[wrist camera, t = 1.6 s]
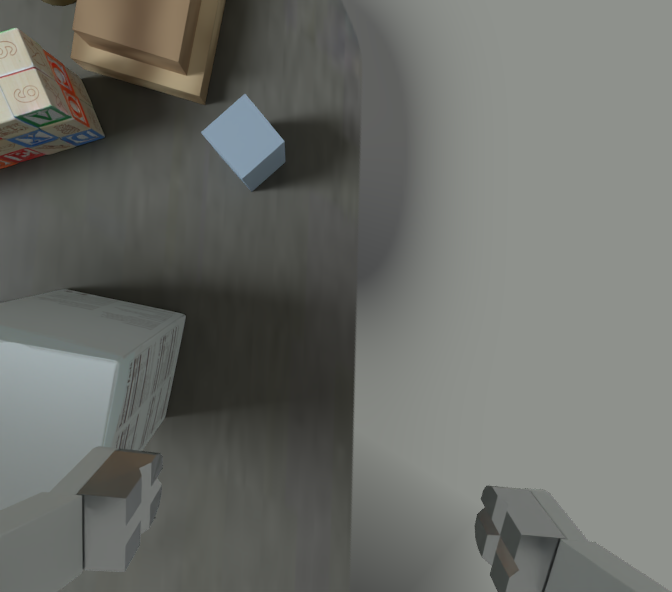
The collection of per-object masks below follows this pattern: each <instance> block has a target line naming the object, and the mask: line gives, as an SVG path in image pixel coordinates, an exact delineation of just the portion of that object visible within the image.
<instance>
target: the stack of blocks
mask: <svg viewBox="0 0 672 592" xmlns="http://www.w3.org/2000/svg"><path fill="white" fill-rule="evenodd" d="M104 137H105V135H104V133H103V131H102V128H101V126H100V123H99V121H98V119H97V116H96V114H95V111H94V109H93V106H92V103H91V101H90V98H89V96H88V94H87V91H86V89H85V87H84V84H83V82H82V80H81V79H80V78H79V77H78V76H77V75H76V74H75V73H73V72H72V71H70V70H69V69H68V68H66V67H65V66H64V65H63V64H62V63H61V62H59V61H58V60H57V59H55V58H54V57H53V56H52V55H50V54H49V53H47V52H46V51H45V50H43V49H42V47H41V46H40V45H39V44H37V43H36V42H35V41H33V40H32V39H31V38H30V37H28V36H27V35H26V34H25V33H23V32H22V31H21V30H19V29H18V28H12V29H9V30H6V31H3V32H0V169H2V168H5V167H9V166H12V165H15V164H18V163H19V162H23V161H27V160H30V159H33V158H36V157H40V156H43V155H46V154H47V155H50V154H54V153H57V152H60V151H64V150H67V149H70V148H73V147H76V146H78V145H83V144H86V143H89V142H92V141H96V140H99V139H102V138H104Z"/></svg>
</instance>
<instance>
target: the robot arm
mask: <svg viewBox="0 0 672 592" xmlns="http://www.w3.org/2000/svg"><path fill="white" fill-rule="evenodd" d="M162 469H163V456H162V455H161V454H160V453H154V452H146V451H138V450H130V449H121V448H120V449H118V448H111V447H102V446H98V447H95V448H93V449H92V450H91V451H90V452H89V453H88V454H87V455H86V456H85V457H84V458H83V459H82V460H81V461H80V462H79V463H78V464H77V465H76V466H75V467H74V468H73V469H72V470H71V471H70V472H69V473H68V474H67V475H66V476H65V477H64V478H63V479H62V480H61V481H60V482H59V483H58V484H57V485H56V486H55V487H54V488H53V489H52V490H51V491H50V492H41V493H38V494H36V495H34V496H32V497H29V498H27V499H25V500H23V501H20V502H18V503H16V504H14V505H11V506H9V507H7V508H5V509H2V510H0V592H58V591H59V590H61V589H62V588H63V587H65V586H66V585H67V584H68V583H70V582H71V581H72V580H74V579H75V578H76V577H77V576H79V575H80V574H81V573H82V572H83V570H96V571H116V572H125V571H126V569H127V567H128V565H129V563H130V562H131V560H132V558H133V556H134V555H135V553H136V551H137V549H138V548H139V546H140V534H141V533H143V532H144V531H146V530H147V529H149V528H150V526H151V524H152V522H153V520H154V518H155V516H156V513H157V510H158V507H159V504H160V499H161V492H162V484H161V483H160V481H159V480H158V478H157V477H158V475H159V474H160V472H161V470H162ZM481 500H482V502H483V504H484V506H485V508H484V509H482V510H481V511H480V512H479V513H478V514H477V518H476V523H475V538H476V542H477V546H478V549H479V551H480V554H481V556H482V558H483V559H485V560H486V561H487V562H488V563H489V564H490V565H491V566H492V568H491V572H490V576H491V578H492V580H493V582H494V585H495V587H496V589H497V591H498V592H671V591H669V590H668V589H666V588H664V587H663V586H662V585H660V584H658V583H657V582H655V581H654V580H652V579H651V578H649V577H648V576H646V575H645V574H643V573H641V572H640V571H639V570H637V569H635V568H634V567H632V566H631V565H629V564H628V563H626V562H625V561H623V560H622V559H620V558H619V557H617V556H615V555H614V554H613V553H611V552H610V551H608V550H606V549H605V548H603V547H602V546H600V545H599V544H597V543H596V542H589V541H588V540H587V539H586V537H585V536H584V535H583V534H582V532H581V531H580V530H579V529H578V527H577V526H576V525H575V524H574V523H573V521H572V520H571V519H570V517H569V516H568V515H567V514H566V513H565V512H564V510H563V509H562V508H561V506H560V505H559V504H558V503H557V501H556V500H555V499H554V498H553V496H552V495H551V494H550V493H549V492H547V491H546V490H543V489H528V488H527V489H526V488H525V489H518V488H508V487H497V486H486V487H485V489H484V490H483V493H482V497H481Z"/></svg>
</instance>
